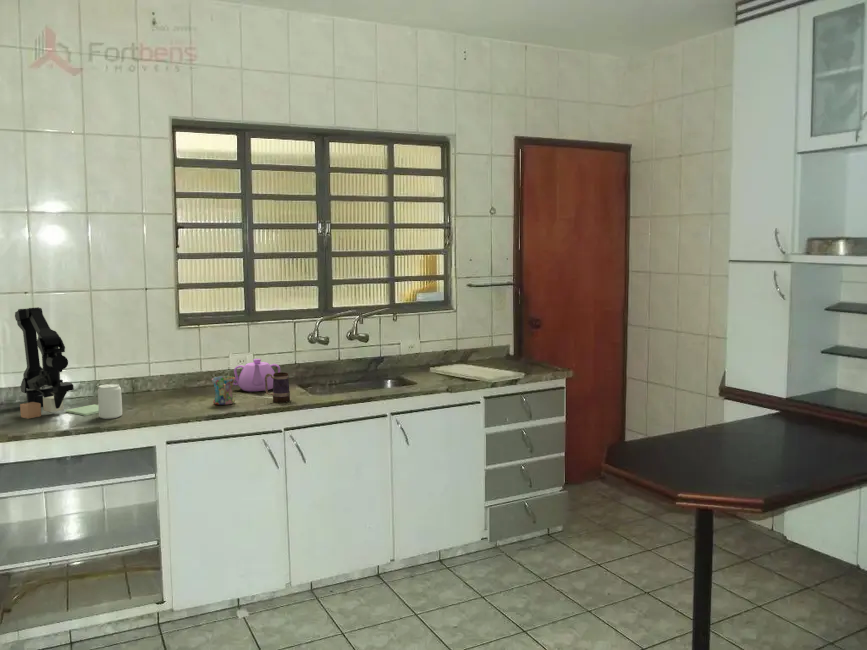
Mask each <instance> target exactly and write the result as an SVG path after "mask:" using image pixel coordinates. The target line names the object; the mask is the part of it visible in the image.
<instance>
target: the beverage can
mask: <svg viewBox="0 0 867 650" xmlns="http://www.w3.org/2000/svg"><path fill="white" fill-rule="evenodd" d="M122 401H123V400H122V388H121V386H120V384H119V383H108V384H106V383H105V384H101V385H98V389H97V405H98V407H99V413H98V417H99V418H100V419H104V420H109V419H111V420H112V419H116V418H117V419H118V418H120V417H121V416H122V415H123V402H122Z"/></svg>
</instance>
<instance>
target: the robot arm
mask: <svg viewBox="0 0 867 650" xmlns="http://www.w3.org/2000/svg"><path fill="white" fill-rule="evenodd" d="M42 309H43V308H42V307H28V308H18V309H17V311H15V312H14V319H15V321H16V322H17V326H18V327H19V329H20V330H21V331H22V334H23V345H24V351H25V352H24V353H25V361H26V369H25V370H24V372H23V376H22V377H23V378H22V381H21V382H20V393H24V394H25V395H26V397H25V398H26V403H30V402H36V403H41V407H43V398H45V397H50V396H54V401H55V406H56V408H59V407H60V405H61V403H62V401H63V402H64V398H65V396H66V395H67V393H68V392H69V391H73V390H74V389H75V388H74V387H75V386H74V384H73V383H72V382H68V381H63V379H61V373H63V371H64V370H65V369H66V368H67V367H68V365H69V360H68V358H67V357H66V356H65V355H63V353H66V347H65V344H64V342H63V339H62V338H61V336H60V335H59V334H58V332H57V331H56V330H53V329H52V328H50V325H49V323H48V321H47V320H46V318H45V316H44V314H43V310H42ZM39 352H40V354H41V362H40V355H39ZM41 363H42V366H41Z"/></svg>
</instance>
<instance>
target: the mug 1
mask: <svg viewBox="0 0 867 650" xmlns="http://www.w3.org/2000/svg"><path fill="white" fill-rule="evenodd" d="M235 379H236V378H235V377H234V376H230V375H228V376H227V375H223V376H222V375H220V376H215V377H212V378H211V382H212V384H213V386H214V392H215V394H214V399H213V404H215V405H216V406H217V405H218V406H227V405H231V404H234V403H235V401H236V400H235V399H234V395H233V387H234V385H233V383H234V382H235V381H234V380H235Z"/></svg>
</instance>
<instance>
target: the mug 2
mask: <svg viewBox="0 0 867 650" xmlns="http://www.w3.org/2000/svg"><path fill="white" fill-rule="evenodd" d="M269 376H271V378H273V389H272V393H269V390H268V388H267V378H268V377H269ZM289 379H290V376H289V373H288V372H283V371H280V372H279V373H278V372H275V373H274V375H273V376H272V375H271V374H267V375H266V376H265V388H266V391H265V394H266V395H268V396H272V402H273V403H277V404H280V403H282V404H283V402H285V403H288V402H290V401H291V391H290V382H289V381H290V380H289Z"/></svg>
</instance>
